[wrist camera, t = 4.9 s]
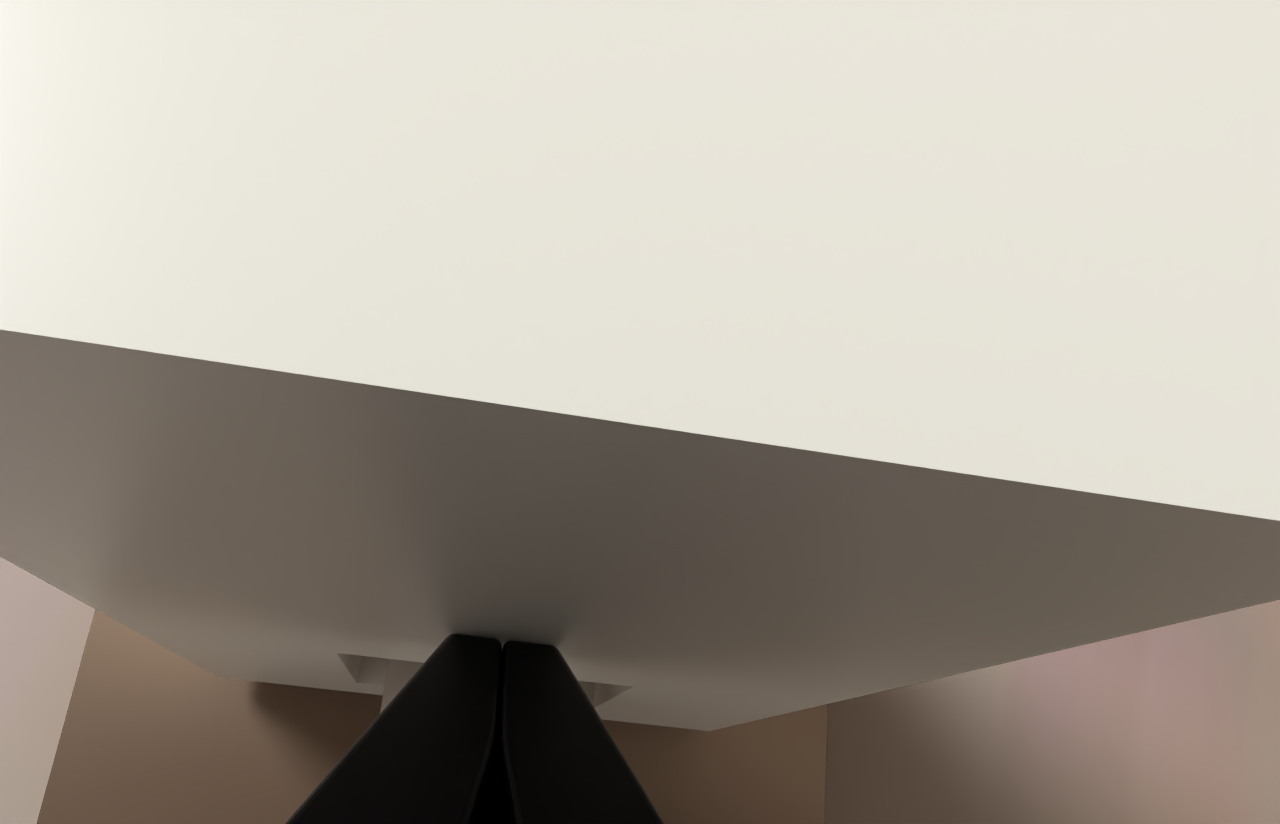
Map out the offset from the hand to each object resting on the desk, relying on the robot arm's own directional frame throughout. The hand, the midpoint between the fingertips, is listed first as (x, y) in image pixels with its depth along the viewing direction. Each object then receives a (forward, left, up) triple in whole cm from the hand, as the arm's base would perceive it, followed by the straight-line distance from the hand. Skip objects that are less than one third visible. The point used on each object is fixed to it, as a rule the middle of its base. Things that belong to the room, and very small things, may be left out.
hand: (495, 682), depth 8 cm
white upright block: (+1, +2, -6) cm, 6 cm away
